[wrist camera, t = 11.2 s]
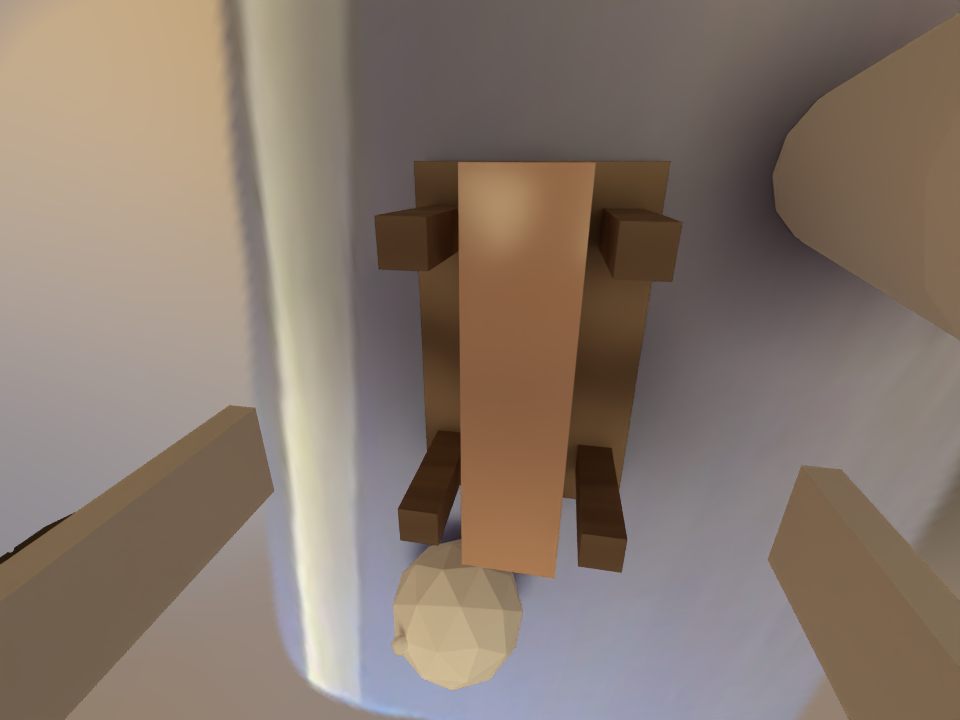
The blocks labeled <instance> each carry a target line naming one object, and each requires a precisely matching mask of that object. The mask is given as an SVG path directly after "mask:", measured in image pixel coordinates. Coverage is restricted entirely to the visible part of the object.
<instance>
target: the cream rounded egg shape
mask: <svg viewBox="0 0 960 720" xmlns="http://www.w3.org/2000/svg"><path fill="white" fill-rule="evenodd" d="M393 611H394V623H395V636H396V637H395V638H394V640H393V642H392V648H393V651H394V653H395V654H396V655H398V656H400V655H403V656H404V657H405V658H406V659H407V660H408V662H409V663H410V664H411V665H412V666H413V668H414V669H415V670H416V671H417V672H418V674H419V675H420V676H421V677H422V678H423V679H425V680H428V681H430V682H432V683H435V684H437V685H440V686H442V687H445V688H447V689H450V690H452V691H453V690H456V689H459V688H463V687H466V686H470V685H473V684H476V683H480V682H483V681H486V680H490V679H491V678H492V676H493V675H494V674H495V673H496V671H497V670H498V669H499V668H500V666H501V665H502V664H503V663H504V661H505V660H506V659H507V658H508V656H509V655H510V654H511V653H512V651H513V650H514V649H515V648H516V644H517V639H518V635H519V630H520V625H521V620H522V615H523V610H522V606H521V602H520V598H519V594H518V590H517V586H516V582H515V578H514V574H513V573H512V572H509V571H502V570H496V569H489V568H483V567H476V566H470V565H463V564H462V539H459V540H454V541H450V542H446V543H441V544H439V546H436V545H433V546H429V547H428V548H427V549H426V550H425V551H424V552H423V553H422V554H421V555H420V556H419V557H418V558H417V559H416V560H415V561H414V562H413V563H412V564H411V565H410V566H409V567H408V568H407V569H406V570H405V571H404V572H403V573H402V576H401V580H400V583H399V586H398V590H397V593H396V596H395V600H394V603H393Z"/></svg>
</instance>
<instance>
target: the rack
mask: <svg viewBox="0 0 960 720" xmlns="http://www.w3.org/2000/svg"><path fill="white" fill-rule="evenodd" d="M458 162H543V163H596V165H595V175H594V185H593V195H592V205H591V215H590V225H589V236H588V246H587V256H586V266H585V276H584V286H583V296H582V306H581V316H580V326H579V337H578V347H577V357H576V367H575V377H574V387H573V397H572V407H571V417H570V427H569V438H568V448H567V458H566V468H565V478H564V488H563V498H571V499H576V514H577V546H578V566H579V567H586V568H593V569H600V570H607V571H613V572H620V573H622V568H623V562H624V556H625V550H626V545H627V535H626V529H625V523H624V517H623V512H622V506H621V500H620V494H619V488H620V482H621V475H622V469H623V462H624V456H625V449H626V443H627V437H628V430H629V424H630V417H631V411H632V405H633V398H634V392H635V385H636V379H637V373H638V366H639V360H640V353H641V347H642V341H643V334H644V328H645V321H646V315H647V308H648V302H649V296H650V289H651V283H652V281H663V282H672V280H673V274H674V268H675V263H676V257H677V251H678V245H679V240H680V234H681V228H682V222H680V221H677V220H674V219H672V218H669V217H666V216H663V215H662V212H663V206H664V199H665V193H666V187H667V180H668V174H669V167H670V161H414V175H415V197H416V208H413V209H408V210H402V211H397V212H391V213H386V214H381V215H375V229H376V241H377V254H378V266H379V269H382V270H406V271H419V285H420V307H421V328H422V350H423V372H424V394H425V416H426V438H427V453H426V455H425V457H424V459H423V461H422V463H421V465H420V467H419V469H418V471H417V472H416V474H415V476H414V478H413V480H412V482H411V484H410V486H409V488H408V490H407V492H406V494H405V496H404V498H403V500H402V502H401V504H400V506H399V508H398V517H399V529H400V540H402V541H409V542H416V543H423V544H430V545H436V546H439V543H440V540H441V537H442V534H443V531H444V528H445V526H446V523H447V520H448V517H449V514H450V511H451V508H452V505H453V503H454V500H455V497H456V494H457V491H458V488H459V485H461V428H460V322H459V215H458Z"/></svg>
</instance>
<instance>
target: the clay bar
mask: <svg viewBox="0 0 960 720" xmlns="http://www.w3.org/2000/svg"><path fill="white" fill-rule="evenodd" d="M595 165H596V163H543V162H458V215H459V322H460V428H461V535H462V564H463V565H470V566H476V567H483V568H489V569H496V570H502V571H509V572H515V573H522V574H528V575H535V576H541V577H548V578H554V579H555V569H556V559H557V549H558V539H559V529H560V518H561V508H562V498H563V488H564V478H565V468H566V458H567V448H568V438H569V427H570V417H571V407H572V397H573V387H574V377H575V367H576V357H577V347H578V337H579V326H580V316H581V306H582V296H583V286H584V276H585V266H586V256H587V246H588V236H589V225H590V215H591V205H592V195H593V185H594V175H595Z"/></svg>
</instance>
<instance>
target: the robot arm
mask: <svg viewBox="0 0 960 720" xmlns="http://www.w3.org/2000/svg"><path fill="white" fill-rule="evenodd" d="M273 492H274V488H273V483H272V479H271V474H270V470H269V466H268V461H267V457H266V453H265V448H264V444H263V440H262V435H261V431H260V427H259V422H258V418H257V414H256V409H255V408H251V407H241V406H231V405H230V406H228V407H226V408H225V409H223V410H222V411H221V412H219V413H218V414H216V415H215V416H214V417H212V418H211V419H209V420H208V421H206V422H205V423H203V424H202V425H200V426H199V427H198V428H196V429H195V430H193V431H192V432H190V433H189V434H188V435H186V436H185V437H183V438H182V439H181V440H179V441H177V442H176V443H175V444H173V445H172V446H170V447H169V448H167V449H166V450H165V451H163V452H162V453H160V454H159V455H157V456H156V457H155V458H153V459H152V460H150V461H149V462H147V463H146V464H144V465H143V466H142V467H140V468H139V469H137V470H136V471H134V472H133V473H132V474H130V475H129V476H127V477H126V478H124V479H123V480H121V481H120V482H119V483H117V484H116V485H114V486H113V487H111V488H110V489H109V490H107V491H106V492H104V493H103V494H101V495H100V496H98V497H97V498H96V499H94V500H93V501H91V502H90V503H89V504H87V505H85V506H84V507H83V508H81V509H80V510H78V511H77V512H75V513H73V514H70V515H69V516H67V517H64V518H63V519H60V520H58V521H56V522H54V523H52V524H50V525H48V526H46V527H44V528H43V529H41V530H40V531H38V532H37V533H35V534H34V535H33V536H31V537H29V538H28V539H27V540H25V541H24V542H22V543H21V544H19V545H18V546H16V547H15V548H14V551H13V552H11V553H9V552H7V553H6V554H5V555H3V556H2V557H0V720H65V718H66V717H67V716H68V715H69V714H70V713H71V712H72V711H73V710H74V709H75V708H76V706H77V705H78V704H79V703H80V702H81V701H82V700H83V699H84V698H85V697H86V696H87V694H88V693H89V692H90V691H91V690H92V689H93V688H94V687H95V686H96V685H97V683H98V682H99V681H100V680H101V679H102V678H103V677H104V676H105V675H106V674H107V673H108V671H109V670H110V669H111V668H112V667H113V666H114V665H115V664H116V663H117V662H118V661H119V660H120V658H121V657H122V656H123V655H124V654H125V653H126V652H127V650H129V649H130V647H131V646H132V645H133V644H134V643H135V642H136V641H137V640H138V639H139V638H140V637H141V636H142V634H143V633H144V632H145V631H146V630H147V629H148V628H149V627H150V626H151V625H152V624H153V622H154V621H155V620H156V619H157V618H158V617H159V616H160V615H161V614H162V613H163V612H164V610H165V609H166V608H167V607H168V606H169V605H170V604H171V603H172V602H173V601H174V600H175V599H176V597H177V596H178V595H179V594H180V593H181V592H182V591H183V590H184V589H185V588H186V586H187V585H188V584H189V583H190V582H191V581H192V580H193V579H194V578H195V577H196V575H198V573H199V572H200V571H201V570H202V569H203V568H204V567H205V566H206V565H207V563H209V561H210V560H211V559H212V558H213V557H214V556H215V555H216V554H217V553H218V551H220V549H221V548H222V547H223V546H224V545H225V544H226V543H227V542H228V541H229V539H231V537H232V536H233V535H234V534H235V533H236V532H237V531H238V530H239V529H240V528H241V527H242V525H243V524H244V523H245V522H246V521H247V520H248V519H249V518H250V517H251V516H252V515H253V513H254V512H255V511H256V510H257V509H258V508H259V507H260V506H261V505H262V504H263V503H264V501H265V500H266V499H267V498H268V497H269V496H270V495H271V494H272V493H273ZM768 561H769V563H770V565H771V567H772V569H773V571H774V573H775V575H776V577H777V579H778V581H779V583H780V585H781V587H782V588H783V590H784V592H785V594H786V596H787V598H788V600H789V602H790V604H791V606H792V608H793V610H794V612H795V614H796V616H797V618H798V620H799V622H800V624H801V626H802V628H803V630H804V632H805V634H806V636H807V638H808V640H809V642H810V644H811V646H812V648H813V650H814V652H815V654H816V656H817V658H818V660H819V662H820V664H821V665H822V667H823V669H824V671H825V673H826V675H827V677H828V679H829V681H830V683H831V685H832V687H833V689H834V691H835V693H836V695H837V697H838V699H839V701H840V703H841V705H842V707H843V709H844V711H845V713H846V715H847V717H848V719H849V720H960V601H959V599H958V598H957V597H956V596H955V595H954V594H953V593H952V592H951V591H950V589H948V587H947V586H946V585H945V584H944V583H943V582H942V581H941V579H940V578H939V577H938V576H937V575H936V574H935V573H934V572H933V571H932V570H931V568H930V567H929V566H928V565H927V564H926V563H925V562H924V561H923V559H922V558H921V557H920V556H919V555H918V554H917V553H916V552H915V551H914V550H913V548H912V547H911V546H910V545H909V544H908V543H907V542H906V541H905V540H904V538H903V537H902V536H901V535H900V534H899V533H898V532H897V531H896V530H895V528H894V527H893V526H892V525H891V524H890V523H889V522H888V521H887V520H886V518H885V517H884V516H883V515H882V514H881V513H880V512H879V511H878V510H877V508H876V507H875V506H874V505H873V504H872V503H871V502H870V501H869V500H868V499H867V497H866V496H865V495H864V494H863V493H862V492H861V491H860V490H859V489H858V487H857V486H856V485H855V484H854V483H853V482H852V481H851V480H850V479H849V477H848V476H847V475H846V474H845V473H844V472H843V471H842V470H841V469H831V468H822V467H812V466H801V468H800V471H799V474H798V477H797V480H796V482H795V485H794V488H793V491H792V494H791V496H790V499H789V502H788V505H787V507H786V510H785V513H784V516H783V519H782V521H781V524H780V527H779V530H778V533H777V535H776V538H775V541H774V544H773V547H772V549H771V552H770V555H769V558H768Z"/></svg>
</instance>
